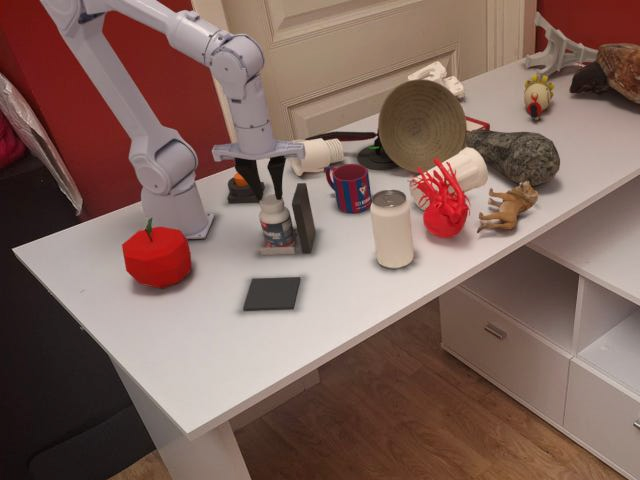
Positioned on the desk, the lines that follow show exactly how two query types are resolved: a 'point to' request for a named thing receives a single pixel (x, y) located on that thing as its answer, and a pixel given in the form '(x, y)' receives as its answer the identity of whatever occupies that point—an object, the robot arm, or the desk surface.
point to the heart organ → (443, 202)
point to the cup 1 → (350, 187)
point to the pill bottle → (276, 222)
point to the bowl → (421, 125)
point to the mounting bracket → (436, 74)
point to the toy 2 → (537, 95)
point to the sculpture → (611, 72)
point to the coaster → (272, 293)
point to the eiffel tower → (558, 51)
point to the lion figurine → (509, 206)
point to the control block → (241, 193)
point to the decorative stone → (517, 154)
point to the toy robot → (376, 157)
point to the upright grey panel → (298, 224)
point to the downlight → (317, 155)
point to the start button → (240, 180)
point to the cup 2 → (467, 174)
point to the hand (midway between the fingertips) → (270, 197)
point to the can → (392, 228)
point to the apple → (157, 256)
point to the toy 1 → (345, 136)
